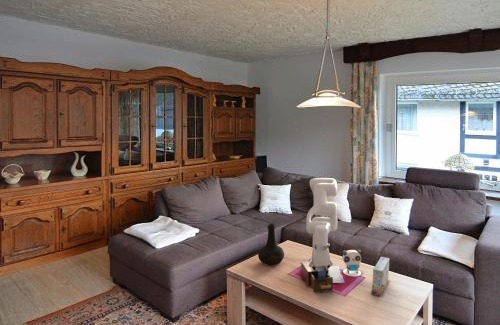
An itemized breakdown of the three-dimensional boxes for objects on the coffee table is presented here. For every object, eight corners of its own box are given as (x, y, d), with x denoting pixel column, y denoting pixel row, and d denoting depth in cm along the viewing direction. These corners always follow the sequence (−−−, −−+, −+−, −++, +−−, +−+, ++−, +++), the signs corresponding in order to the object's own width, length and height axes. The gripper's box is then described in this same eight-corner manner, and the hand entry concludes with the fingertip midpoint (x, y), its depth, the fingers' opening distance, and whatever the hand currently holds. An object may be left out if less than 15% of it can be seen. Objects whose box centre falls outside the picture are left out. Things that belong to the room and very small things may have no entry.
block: (323, 274, 207) (323, 267, 206) (325, 278, 202) (325, 270, 202) (315, 275, 206) (315, 268, 206) (318, 278, 202) (318, 271, 201)
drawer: (335, 294, 197) (336, 281, 196) (316, 296, 196) (316, 283, 194) (324, 279, 215) (324, 267, 214) (306, 281, 213) (306, 269, 212)
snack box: (381, 296, 196) (382, 271, 194) (371, 294, 199) (372, 269, 197) (389, 281, 214) (389, 257, 211) (379, 278, 216) (380, 255, 214)
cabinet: (328, 285, 210) (328, 270, 209) (308, 287, 208) (308, 271, 207) (320, 274, 224) (320, 260, 223) (301, 275, 223) (301, 261, 221)
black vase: (253, 263, 242) (252, 225, 238) (269, 255, 255) (268, 218, 251) (273, 271, 230) (272, 230, 226) (289, 262, 243) (289, 223, 239)
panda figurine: (344, 276, 220) (344, 254, 218) (340, 268, 231) (340, 247, 229) (363, 276, 220) (364, 253, 218) (358, 268, 231) (358, 247, 229)
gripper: (332, 243, 207) (332, 272, 209) (304, 245, 204) (304, 274, 207) (337, 248, 199) (337, 278, 202) (308, 250, 197) (308, 280, 200)
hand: (320, 276), depth 204 cm, fingers closed on block, 4 cm apart
